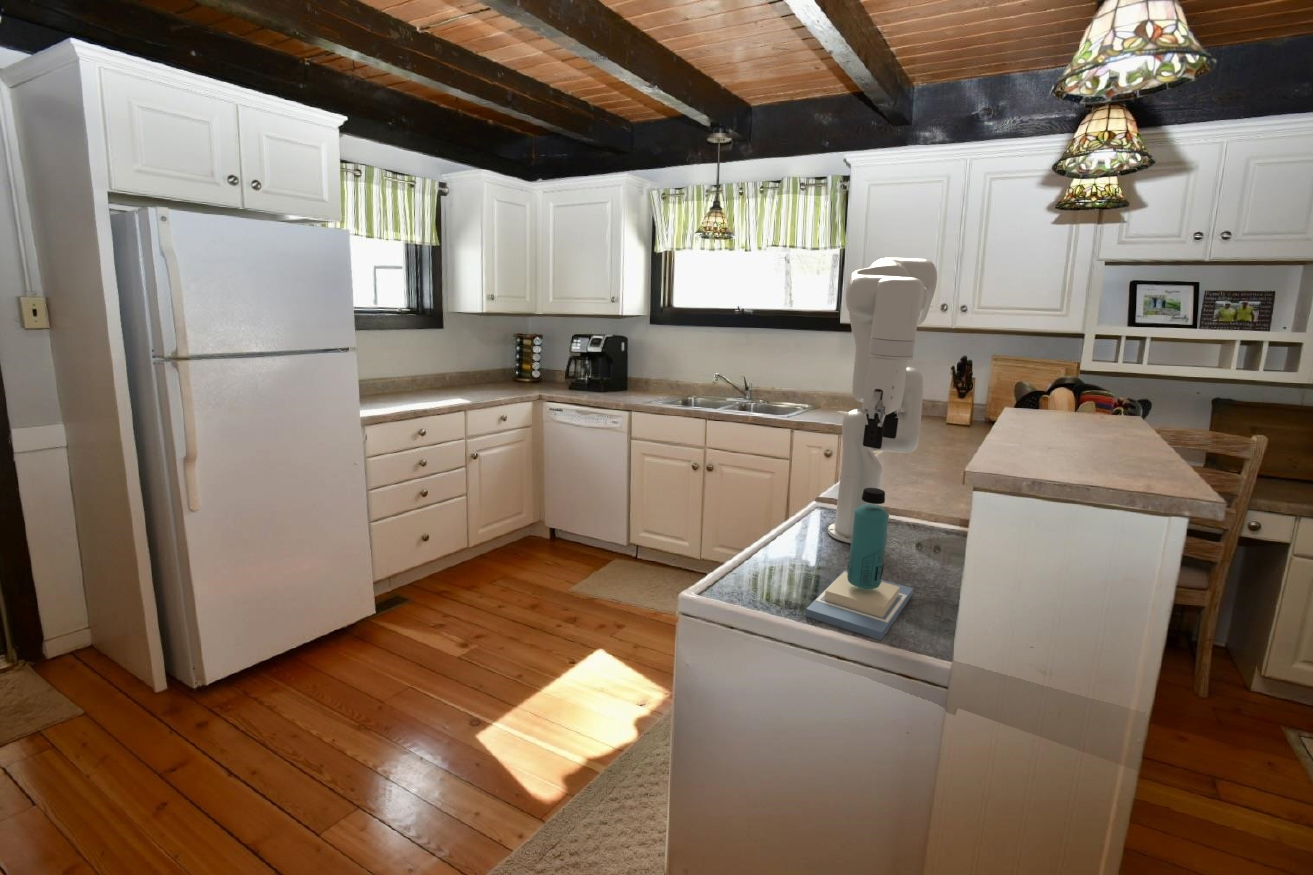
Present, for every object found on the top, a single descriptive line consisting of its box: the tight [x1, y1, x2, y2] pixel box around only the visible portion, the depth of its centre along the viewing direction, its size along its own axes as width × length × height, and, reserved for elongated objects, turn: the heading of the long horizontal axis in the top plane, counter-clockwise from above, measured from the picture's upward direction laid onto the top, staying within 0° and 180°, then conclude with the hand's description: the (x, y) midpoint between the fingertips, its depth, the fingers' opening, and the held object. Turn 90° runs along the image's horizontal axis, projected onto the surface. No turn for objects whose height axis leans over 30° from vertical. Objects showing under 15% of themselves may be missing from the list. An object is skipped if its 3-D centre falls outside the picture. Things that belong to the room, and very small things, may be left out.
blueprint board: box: [805, 569, 914, 641], centre depth 134 cm, size 22×14×4 cm, turn 147°
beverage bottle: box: [846, 488, 890, 589], centre depth 131 cm, size 6×7×20 cm
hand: (879, 442), depth 127 cm, fingers open, 9 cm apart
